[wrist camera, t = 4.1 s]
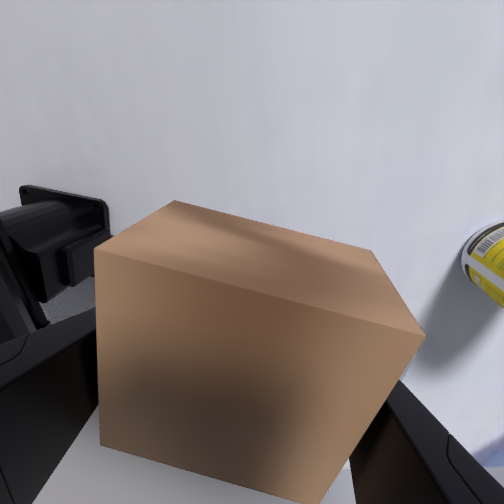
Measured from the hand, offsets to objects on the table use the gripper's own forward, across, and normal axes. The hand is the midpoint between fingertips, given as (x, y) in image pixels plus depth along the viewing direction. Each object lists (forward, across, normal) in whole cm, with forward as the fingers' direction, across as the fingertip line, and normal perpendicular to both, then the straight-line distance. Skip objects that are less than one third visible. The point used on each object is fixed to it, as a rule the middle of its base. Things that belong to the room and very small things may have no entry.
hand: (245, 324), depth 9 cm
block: (+1, 0, 0) cm, 1 cm away
